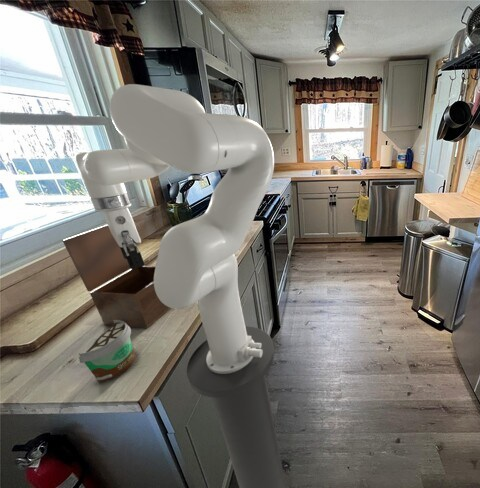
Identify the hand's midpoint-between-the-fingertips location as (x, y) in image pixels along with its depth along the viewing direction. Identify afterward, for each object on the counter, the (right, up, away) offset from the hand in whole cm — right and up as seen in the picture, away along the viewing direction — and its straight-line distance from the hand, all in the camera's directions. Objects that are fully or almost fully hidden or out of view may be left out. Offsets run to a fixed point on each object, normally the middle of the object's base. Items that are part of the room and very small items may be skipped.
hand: (134, 262), depth 73 cm
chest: (-7, -17, +15) cm, 24 cm away
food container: (+3, -26, -7) cm, 27 cm away
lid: (-15, +2, +9) cm, 18 cm away
